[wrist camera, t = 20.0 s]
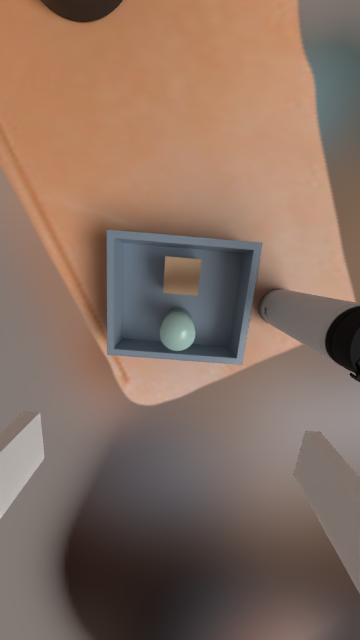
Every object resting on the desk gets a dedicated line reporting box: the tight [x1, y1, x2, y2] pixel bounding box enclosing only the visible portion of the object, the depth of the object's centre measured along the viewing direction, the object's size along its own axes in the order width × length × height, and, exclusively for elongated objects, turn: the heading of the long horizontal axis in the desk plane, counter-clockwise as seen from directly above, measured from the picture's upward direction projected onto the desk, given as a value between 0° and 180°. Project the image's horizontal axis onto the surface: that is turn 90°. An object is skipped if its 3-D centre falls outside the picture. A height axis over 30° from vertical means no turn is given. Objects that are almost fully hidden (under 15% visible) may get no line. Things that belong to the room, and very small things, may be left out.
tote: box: [107, 230, 262, 365], centre depth 32 cm, size 18×21×6 cm
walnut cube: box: [163, 256, 202, 296], centre depth 31 cm, size 5×5×5 cm
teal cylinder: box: [160, 308, 195, 351], centre depth 32 cm, size 5×5×7 cm
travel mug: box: [259, 289, 360, 382], centre depth 26 cm, size 6×7×20 cm
